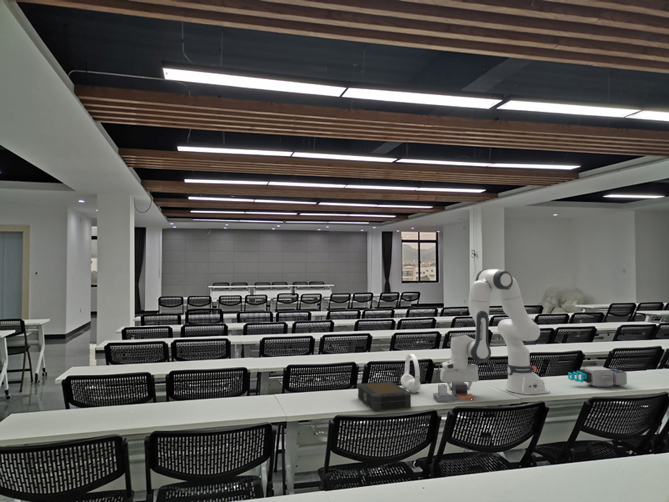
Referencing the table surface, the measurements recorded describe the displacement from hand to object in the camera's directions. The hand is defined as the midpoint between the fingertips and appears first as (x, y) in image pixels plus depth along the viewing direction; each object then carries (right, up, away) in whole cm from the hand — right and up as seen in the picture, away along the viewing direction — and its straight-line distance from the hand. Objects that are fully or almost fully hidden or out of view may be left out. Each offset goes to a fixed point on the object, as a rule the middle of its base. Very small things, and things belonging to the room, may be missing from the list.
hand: (459, 390), depth 247 cm
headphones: (-25, -3, +10) cm, 27 cm away
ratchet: (-5, -2, -9) cm, 11 cm away
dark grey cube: (0, -2, 0) cm, 2 cm away
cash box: (-43, -3, -15) cm, 45 cm away
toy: (+83, -3, +17) cm, 85 cm away
